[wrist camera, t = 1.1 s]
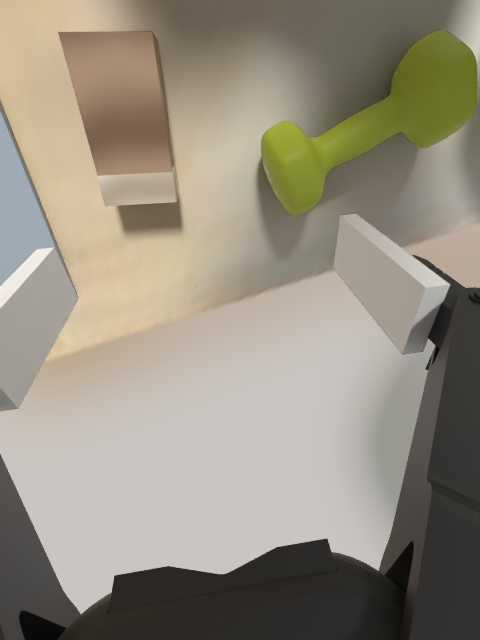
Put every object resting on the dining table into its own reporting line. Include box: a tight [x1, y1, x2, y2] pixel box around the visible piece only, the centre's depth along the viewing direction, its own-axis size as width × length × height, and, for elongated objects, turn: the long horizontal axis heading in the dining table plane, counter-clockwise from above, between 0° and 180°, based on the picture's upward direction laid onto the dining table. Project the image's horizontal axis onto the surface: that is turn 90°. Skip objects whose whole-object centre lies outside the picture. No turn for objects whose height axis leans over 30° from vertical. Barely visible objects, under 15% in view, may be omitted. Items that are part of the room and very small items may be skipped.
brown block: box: [58, 31, 178, 206], centre depth 25 cm, size 11×6×4 cm, turn 1°
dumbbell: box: [261, 30, 477, 216], centre depth 26 cm, size 16×8×7 cm, turn 116°
